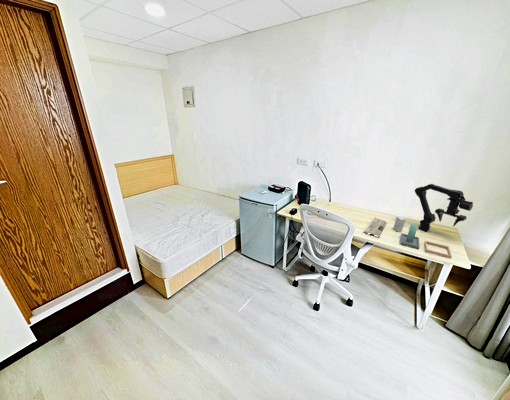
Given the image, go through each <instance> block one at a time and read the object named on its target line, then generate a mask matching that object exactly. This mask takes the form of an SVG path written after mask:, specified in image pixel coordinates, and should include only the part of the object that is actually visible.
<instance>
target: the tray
mask: <svg viewBox="0 0 510 400" xmlns="http://www.w3.org/2000/svg"><path fill="white" fill-rule="evenodd" d="M407 236H408V233H403V232H400V241H399V245H401V246H404V247H408V248H411V249H416V250H420V237H419V236H415V237H414V240H413V242H412V243H410V242H407V241H406V239H407Z"/></svg>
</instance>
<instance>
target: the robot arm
mask: <svg viewBox="0 0 510 400" xmlns="http://www.w3.org/2000/svg"><path fill="white" fill-rule="evenodd" d="M428 190H431V191H434V192H435V191H436V192H438V193H440V194H444V195H446V196H448V198H447V200H448V201H449V203H448V206H446V211H445V209H444V208H440V207H439V208H437V209H435V210H434V213H432V212H431V209H430V205H429V203H428V199H427V191H428ZM414 193H415V195H416V196H417V197H418V199H419V202H420V206H421V207H422V212H423V219H422V220H420V221H419V223H420V224H419V226H418V227H417V230H420V231H422V232H428V231H430V229H431V224H432V223H434V222H435V221H436V219H437V218H438V221H439V222H441V223H442V219H443V216H444V215H448V216H450V217H452V218H453V217H454V218H455V219H454V220H455V221H454V223H453V226H452V227H456V225H457V224H458V223H459V222H464V221H466V220H467V216H466V215H463V214H459V212H460V210H459V209H461V210H465V211H468V212H470V211H471V210H472V209H473V206H474V204H473V203H474V202H473V201H468V200H466V198H465V196H464V191H462V190H459V189H450V188H446V187H443V186H440V185H436V184H434V183H429V184H427V185H424V186H419V187H416V188H415V189H414ZM447 200H446V201H447ZM435 214H436V215H437V218H436V215H435ZM458 214H459V215H458Z"/></svg>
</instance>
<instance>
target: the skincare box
mask: <svg viewBox="0 0 510 400" xmlns="http://www.w3.org/2000/svg"><path fill="white" fill-rule="evenodd" d="M394 221H395V222H394V224H393V230H394V231H395V232H397V233H403V232H402V231H403V229H404V227H405V222H406V218H404V217H402V216H396V219H395V220H394Z"/></svg>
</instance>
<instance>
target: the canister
mask: <svg viewBox="0 0 510 400" xmlns="http://www.w3.org/2000/svg"><path fill="white" fill-rule="evenodd" d="M418 228H419V226H418V225H417V224H415V223H414V224H413V223H411V224H410V226H409V228H408V229H409V230H408V232H407V235H408V236H407V239H406V241H407V242H410V243H412V242H413V240H414V237H416V233H417V231H418Z"/></svg>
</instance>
